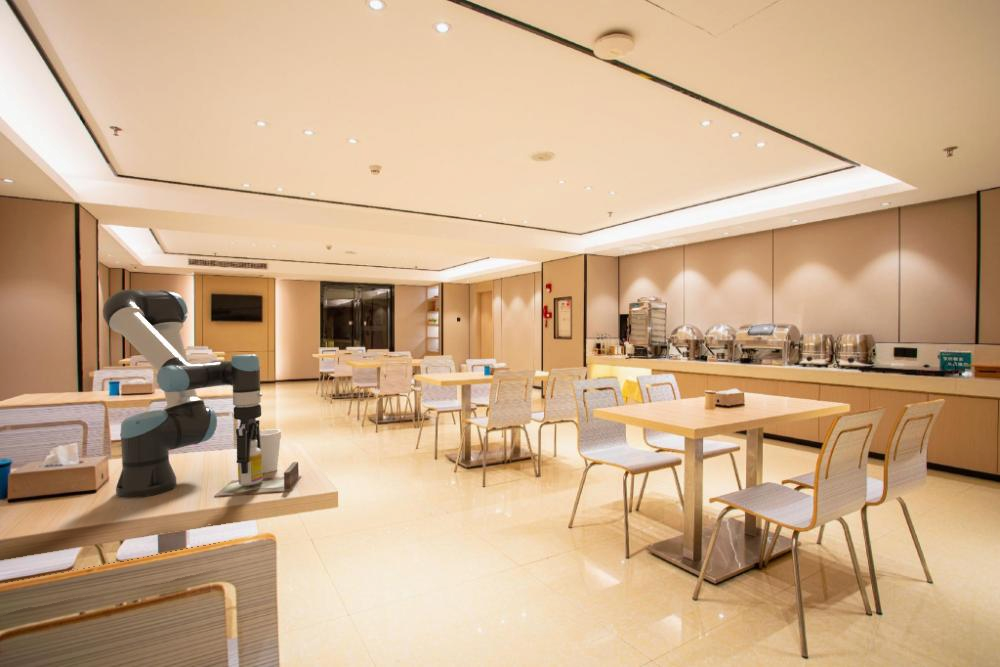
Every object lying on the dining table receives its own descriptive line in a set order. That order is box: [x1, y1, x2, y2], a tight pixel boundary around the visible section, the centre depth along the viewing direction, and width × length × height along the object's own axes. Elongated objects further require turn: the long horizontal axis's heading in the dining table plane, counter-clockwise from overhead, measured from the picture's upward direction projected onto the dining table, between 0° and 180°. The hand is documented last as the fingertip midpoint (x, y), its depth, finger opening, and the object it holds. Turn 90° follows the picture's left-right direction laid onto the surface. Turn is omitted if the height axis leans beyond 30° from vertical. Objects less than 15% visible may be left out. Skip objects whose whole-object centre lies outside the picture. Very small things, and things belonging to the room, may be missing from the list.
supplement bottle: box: [237, 440, 263, 486], centre depth 152 cm, size 7×7×13 cm
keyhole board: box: [213, 461, 302, 498], centre depth 152 cm, size 21×14×5 cm, turn 99°
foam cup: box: [259, 428, 282, 474], centre depth 169 cm, size 10×9×13 cm
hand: (250, 479), depth 152 cm, fingers closed on supplement bottle, 7 cm apart
